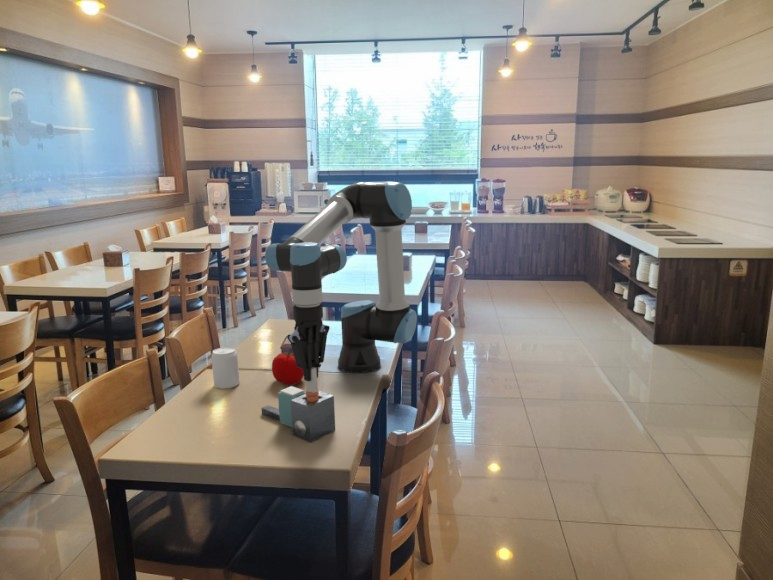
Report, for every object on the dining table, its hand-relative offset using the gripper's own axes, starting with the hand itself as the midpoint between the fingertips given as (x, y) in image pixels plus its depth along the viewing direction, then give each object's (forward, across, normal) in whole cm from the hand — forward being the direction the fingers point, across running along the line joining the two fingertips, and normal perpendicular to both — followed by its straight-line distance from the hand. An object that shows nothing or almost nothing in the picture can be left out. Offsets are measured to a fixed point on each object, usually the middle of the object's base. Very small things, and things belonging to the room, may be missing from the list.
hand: (311, 390), depth 147 cm
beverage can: (+12, -6, -48) cm, 50 cm away
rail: (+12, 0, -12) cm, 17 cm away
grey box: (+12, 0, 0) cm, 12 cm away
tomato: (+12, -21, -34) cm, 41 cm away
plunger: (+6, 0, 0) cm, 6 cm away
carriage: (+12, 0, -8) cm, 14 cm away
